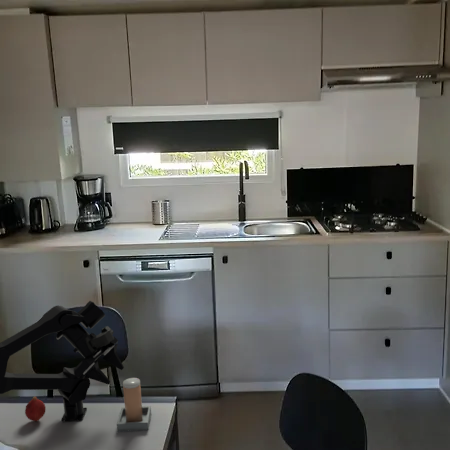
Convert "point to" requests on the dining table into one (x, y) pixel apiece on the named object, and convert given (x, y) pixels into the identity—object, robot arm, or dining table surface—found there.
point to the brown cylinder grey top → (132, 400)
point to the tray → (134, 426)
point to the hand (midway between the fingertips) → (116, 375)
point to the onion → (35, 409)
